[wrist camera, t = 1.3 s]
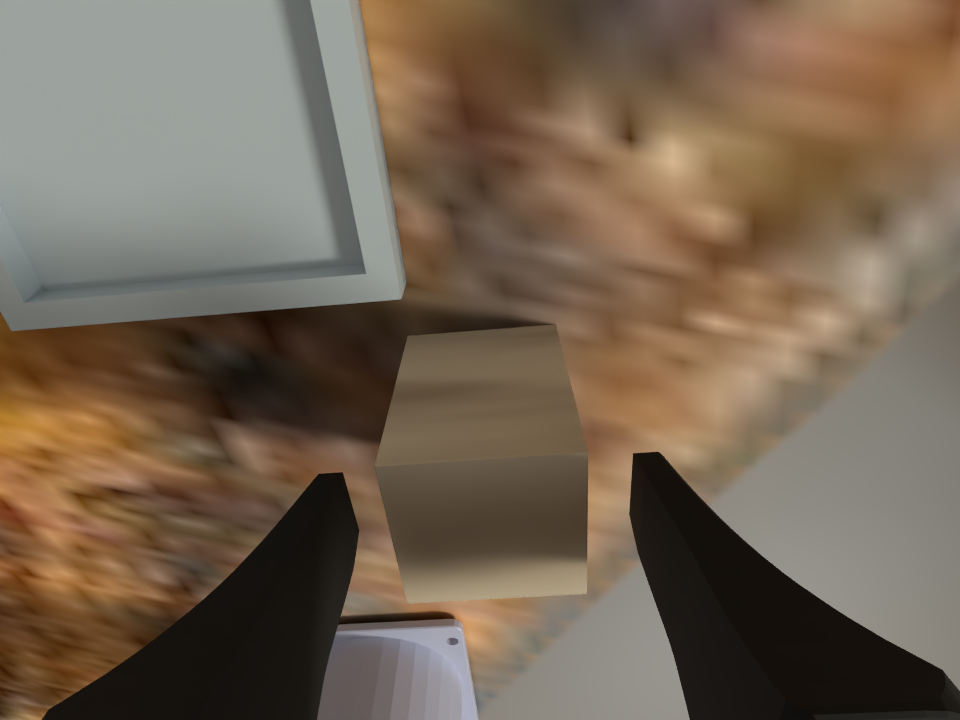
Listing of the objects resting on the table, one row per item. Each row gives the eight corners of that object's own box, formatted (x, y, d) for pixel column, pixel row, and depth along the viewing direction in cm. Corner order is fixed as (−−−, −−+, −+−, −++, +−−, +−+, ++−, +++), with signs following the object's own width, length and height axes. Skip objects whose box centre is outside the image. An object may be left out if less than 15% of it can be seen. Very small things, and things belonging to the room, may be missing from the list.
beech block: (558, 441, 19) (586, 593, 14) (427, 450, 19) (407, 603, 14) (555, 323, 17) (588, 452, 12) (407, 335, 17) (374, 466, 12)
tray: (406, 282, 16) (401, 299, 15) (41, 312, 17) (11, 331, 16) (316, -259, 11) (297, -292, 10) (-227, -187, 11) (-300, -210, 10)
